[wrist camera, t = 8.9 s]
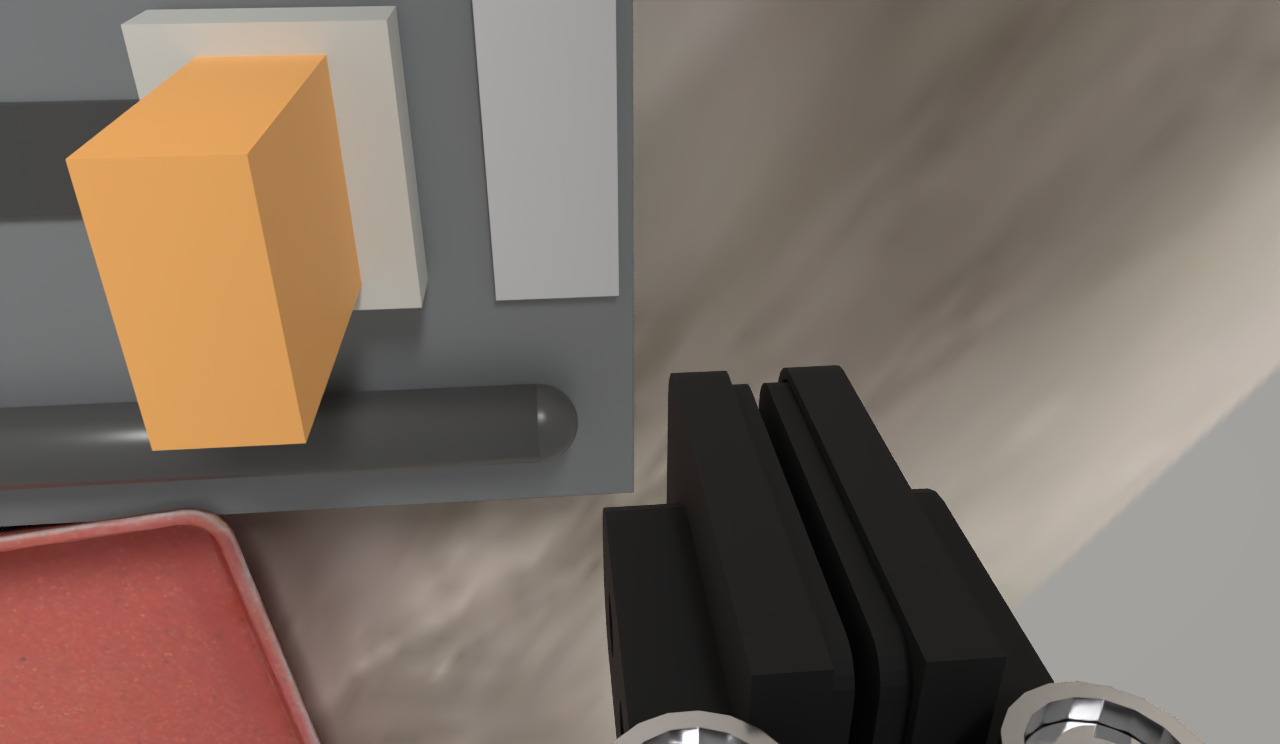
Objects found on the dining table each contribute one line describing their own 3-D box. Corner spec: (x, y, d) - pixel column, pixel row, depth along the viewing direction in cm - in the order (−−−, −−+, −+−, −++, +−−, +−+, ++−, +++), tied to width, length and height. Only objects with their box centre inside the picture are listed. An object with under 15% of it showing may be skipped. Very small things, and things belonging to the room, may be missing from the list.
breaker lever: (395, 6, 17) (328, 108, 11) (428, 279, 19) (385, 469, 14) (147, 9, 16) (-44, 117, 11) (212, 287, 19) (85, 485, 13)
